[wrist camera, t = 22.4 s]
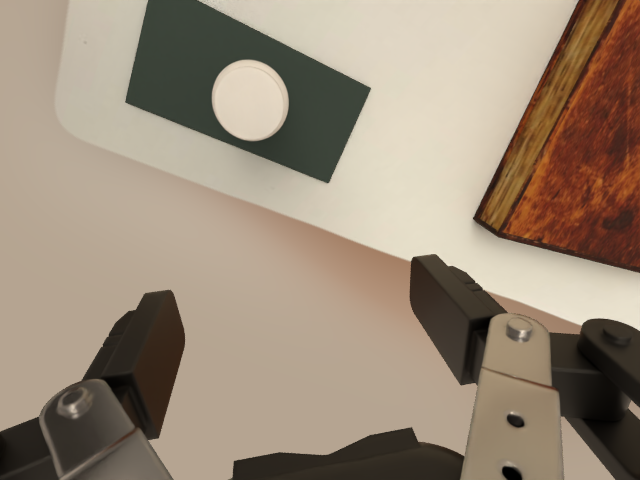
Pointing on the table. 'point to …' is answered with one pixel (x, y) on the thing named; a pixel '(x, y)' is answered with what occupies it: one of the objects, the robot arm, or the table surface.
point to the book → (578, 146)
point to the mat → (224, 49)
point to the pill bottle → (250, 100)
